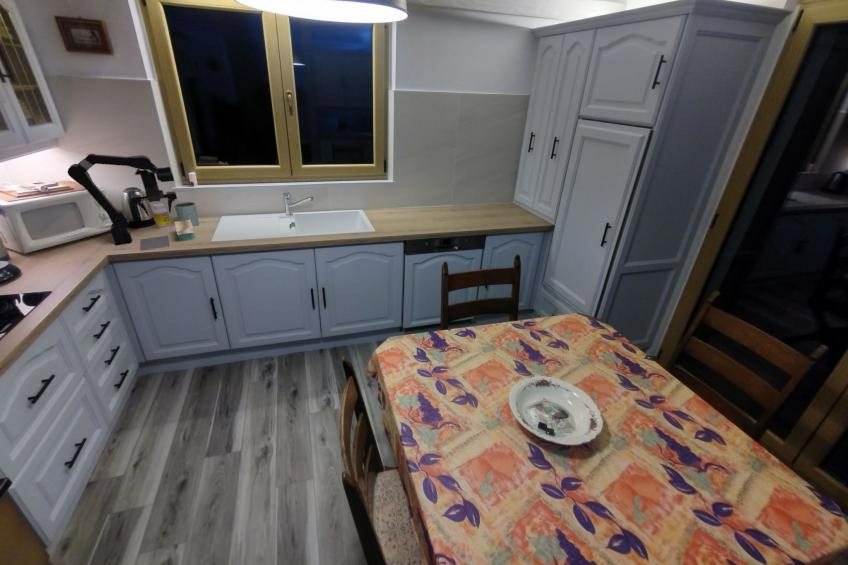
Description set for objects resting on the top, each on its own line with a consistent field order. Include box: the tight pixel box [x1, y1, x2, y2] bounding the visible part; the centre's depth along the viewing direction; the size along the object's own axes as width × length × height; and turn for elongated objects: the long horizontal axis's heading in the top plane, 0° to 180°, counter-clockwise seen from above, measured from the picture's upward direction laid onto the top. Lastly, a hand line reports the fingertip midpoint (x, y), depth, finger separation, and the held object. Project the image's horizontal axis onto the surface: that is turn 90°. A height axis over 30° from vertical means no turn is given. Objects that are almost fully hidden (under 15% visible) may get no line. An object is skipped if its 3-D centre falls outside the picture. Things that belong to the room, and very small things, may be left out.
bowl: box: [177, 232, 196, 241], centre depth 196 cm, size 7×7×5 cm
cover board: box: [174, 220, 195, 236], centre depth 194 cm, size 7×14×2 cm, turn 33°
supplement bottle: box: [152, 203, 172, 230], centre depth 208 cm, size 7×7×13 cm
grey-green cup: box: [173, 201, 200, 227], centre depth 212 cm, size 10×10×12 cm
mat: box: [139, 234, 171, 252], centre depth 190 cm, size 12×17×1 cm
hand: (159, 214), depth 193 cm, fingers open, 9 cm apart
